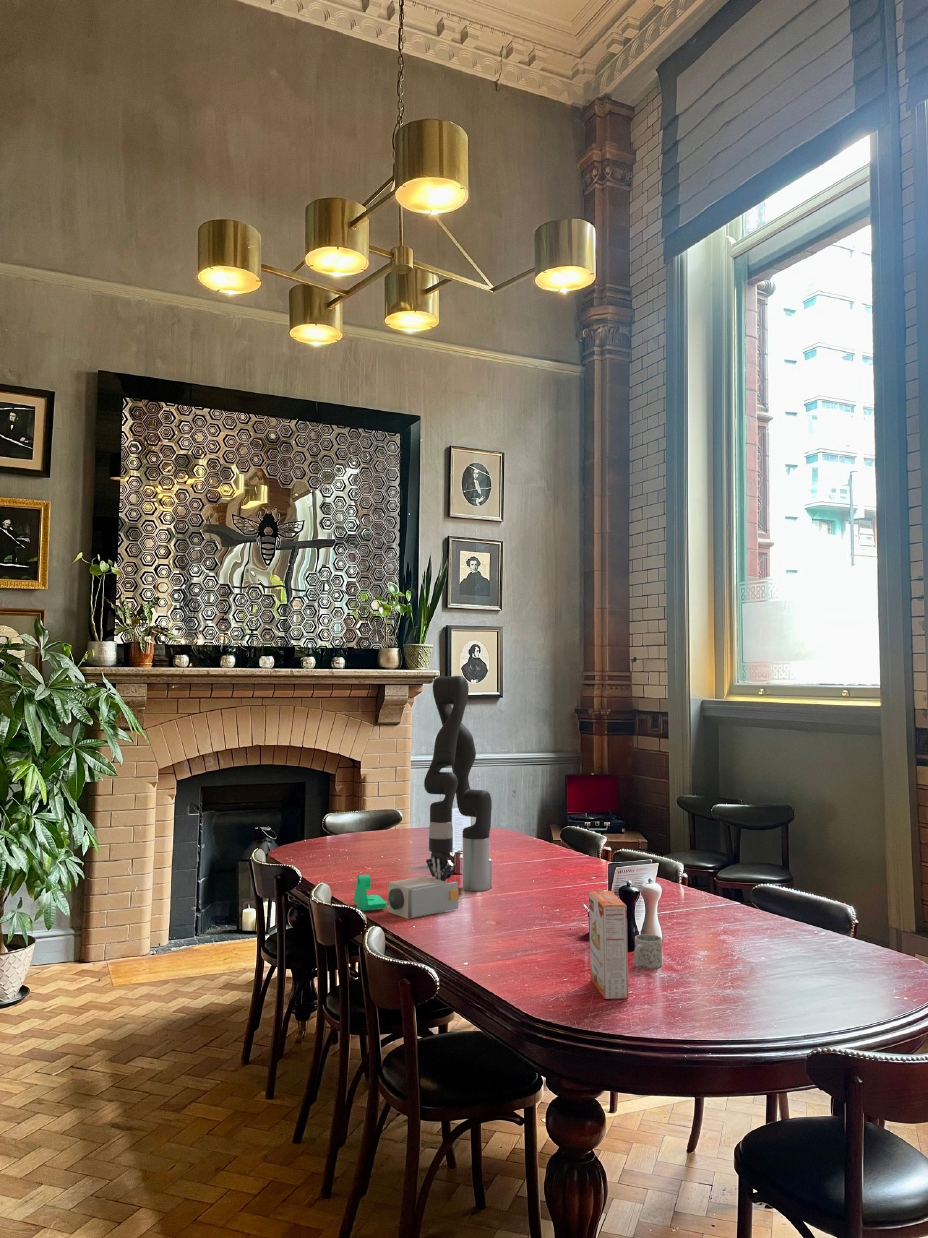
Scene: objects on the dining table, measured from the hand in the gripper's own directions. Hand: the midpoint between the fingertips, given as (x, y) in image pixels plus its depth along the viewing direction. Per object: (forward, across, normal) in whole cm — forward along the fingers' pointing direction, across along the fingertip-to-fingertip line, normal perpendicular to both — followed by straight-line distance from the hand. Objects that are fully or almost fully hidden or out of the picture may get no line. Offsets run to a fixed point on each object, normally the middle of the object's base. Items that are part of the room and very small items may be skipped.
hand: (440, 892), depth 289 cm
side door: (+4, -7, +7) cm, 11 cm away
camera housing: (+5, 0, +9) cm, 10 cm away
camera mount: (+5, +13, +18) cm, 22 cm away
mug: (+5, -79, -4) cm, 80 cm away
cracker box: (+5, -86, +16) cm, 87 cm away
